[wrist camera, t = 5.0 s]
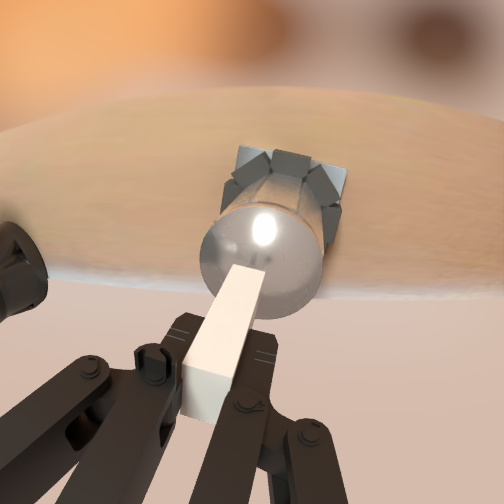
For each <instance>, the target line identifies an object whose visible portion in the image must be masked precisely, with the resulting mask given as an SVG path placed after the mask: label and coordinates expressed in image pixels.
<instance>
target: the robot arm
mask: <svg viewBox="0 0 504 504" xmlns="http://www.w3.org/2000/svg"><path fill="white" fill-rule="evenodd" d="M264 276H265V272H264V271H260V270H256V269H252V268H248V267H244V266H240V265H235V264H233V265H232V267H231V269H230V271H229V273H228V275H227V277H226V279H225V281H224V283H223V285H222V287H221V289H220V290H219V292H218V294H217V296H216V298H215V300H214V302H213V304H212V306H211V308H210V310H209V312H208V314H207V316H206V318H204V317H201V316H197V315H194V314H190V313H187V312H186V313H184V314H183V315H181V316H180V317H178V318H176V320H175V321H174V323H173V324H172V326H171V328H170V329H169V331H168V332H167V334H166V336H165V337H164V339H163V340H162V342H161V344H157V343H150V344H145V345H142V346H140V347H138V348H137V349H136V350H135V351H134V357H135V367H136V369H133V370H122V369H113V368H109V365H108V363H107V362H106V361H105V360H104V359H102V358H101V357H98V356H93V355H87V356H82V357H80V358H78V359H76V360H75V361H74V362H73V363H71V364H70V365H68V366H67V367H66V368H64V369H63V370H62V371H60V372H59V373H58V374H56V375H55V376H54V377H53V378H51V379H50V380H49V381H47V382H46V383H45V384H43V385H42V386H41V387H39V388H38V389H37V390H35V391H34V392H33V393H31V394H30V395H29V396H28V397H26V398H25V399H24V400H22V401H21V402H20V403H19V404H17V405H16V406H15V407H13V408H12V409H11V410H9V411H8V412H7V413H6V414H4V415H3V416H2V417H0V504H34V503H35V502H37V501H38V500H39V499H40V498H41V497H42V496H43V495H44V494H45V493H46V492H47V491H48V490H49V489H50V488H52V486H54V485H55V484H56V483H57V482H58V481H59V480H60V479H61V478H62V477H63V476H64V475H65V474H66V473H67V472H68V471H69V470H71V468H73V467H74V465H76V464H77V463H78V462H79V463H78V465H77V466H76V468H75V470H74V471H73V473H72V475H71V477H70V478H69V480H68V482H67V483H66V485H65V487H64V489H63V490H62V492H61V494H60V496H59V497H58V499H57V501H56V503H55V504H142V502H143V500H144V498H145V495H146V493H147V490H148V488H149V486H150V484H151V481H152V479H153V477H154V474H155V472H156V470H157V467H158V465H159V463H160V460H161V458H162V456H163V454H164V451H165V449H166V447H167V444H168V442H169V440H170V437H171V435H172V433H173V430H174V428H175V424H176V416H177V414H178V412H179V409H180V414H182V415H185V416H188V417H191V418H194V419H198V420H201V421H204V422H208V423H211V424H215V425H216V426H215V429H214V431H213V435H212V438H211V440H210V444H209V447H208V449H207V452H206V455H205V458H204V461H203V464H202V467H201V470H200V473H199V476H198V478H197V481H196V484H195V487H194V490H193V493H192V495H191V498H190V501H189V504H248V502H249V498H250V494H251V490H252V485H253V480H254V476H255V472H256V467H258V468H260V469H262V470H264V471H266V472H267V475H268V485H269V494H270V503H271V504H348V500H347V496H346V492H345V488H344V484H343V480H342V476H341V472H340V468H339V464H338V459H337V456H336V452H335V448H334V444H333V440H332V436H331V434H330V432H329V430H328V428H327V427H326V426H325V425H324V424H323V423H321V422H319V421H317V420H315V419H308V418H304V419H299V420H297V421H293V420H291V419H288V418H286V417H285V416H282V415H281V414H280V413H278V412H277V411H276V410H275V409H274V408H273V406H272V404H271V402H270V399H269V395H270V388H271V383H272V377H273V371H274V367H275V361H276V354H277V350H278V343H277V340H276V338H275V335H273V334H269V333H265V332H260V331H257V330H253V329H252V326H253V322H254V319H255V315H256V310H257V306H258V302H259V297H260V293H261V289H262V284H263V280H264ZM47 291H48V280H47V274H46V270H45V266H44V263H43V261H42V258H41V256H40V254H39V252H38V250H37V248H36V246H35V244H34V243H33V241H32V240H31V238H30V237H29V236H28V235H27V233H26V232H25V231H24V230H23V229H22V228H21V227H19V226H18V225H16V224H14V223H12V222H4V223H2V224H0V323H1V322H2V321H3V320H4V319H6V318H7V317H9V316H12V315H16V314H19V313H22V312H25V311H27V310H31V309H33V308H35V307H37V306H38V305H39V304H40V303H41V302H42V301H44V299H45V298H46V296H47Z"/></svg>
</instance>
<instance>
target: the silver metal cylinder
mask: <svg viewBox="0 0 504 504" xmlns="http://www.w3.org/2000/svg"><path fill="white" fill-rule="evenodd" d="M301 183H302V179H300V178H296V177H292V176H287V175H283V174H278V173H274V172H273V173H272V175H271V174H270V173H269V174H267V175H265V176H264V177H262V178H261V179H259V180H258V181H256V182H255V183H253V184H251V185H250V186H248V187H247V188H245V189H244V190H243V191H242V193H241V194H240V195H239V196H238V197H237V198H236V199H235V200H234V201H233V202H232V203H231V204H230V205H229V206H228V207H227V208H226V209H225V210H224V211H223V213H222V214H221V215H220V216H219V217H218V218H217V219H216V220H215V221H214V222H213V225H212V226H211V228H210V229H209V231H208V232H207V234H206V236H205V237H204V239H203V242H202V245H201V250H200V269H201V273H202V276H203V279H204V281H205V283H206V285H207V287H208V289H209V290H210V291H211V293H212V294H213V295H214V296H215V298H216V296H217V294H218V292H219V290H220V289H221V287H222V285H223V283H224V281H225V279H226V277H227V275H228V273H229V271H230V269H231V267H232V265H233V264H235V265H240V266H244V267H248V268H252V269H256V270H260V271H264V272H265V276H264V280H263V284H262V289H261V293H260V297H259V302H258V306H257V310H256V315H255V319H277V318H282V317H285V316H288V315H291V314H293V313H295V312H297V311H298V310H300V309H301V308H303V307H304V306H305V305H306V304H307V303H308V302H309V301H310V300H311V299H312V298H313V296H314V295H315V293H316V292H317V290H318V288H319V285H320V282H321V278H322V271H323V261H322V260H323V256H324V241H323V226H322V212H321V205H320V204H319V202H318V201H317V199H316V197H315V196H314V194H313V193H312V191H311V189H310V188H309V186H308V185H307V183H306V181H305V182H303V183H302V184H301Z"/></svg>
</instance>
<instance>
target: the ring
mask: <svg viewBox="0 0 504 504" xmlns="http://www.w3.org/2000/svg"><path fill="white" fill-rule="evenodd" d="M310 162H311V157H309V156H304V155H300V154H296V153H291V152H287V151H282V150H278V149H275V150H274V151H273V154H272V159H270V158H269V156H268V155H267V153H266V152H265V151H264V152H263V153H261V154H259V155H258V156H256V157H255V158H253V159H252V160H250V161H249V162H247V163H246V164H244V165H243V166H241V167H240V168H238V169H237V170H235V171H234V172H233V173H231V175H232V176H233V178H234V179H230V180H228V181H227V182H226V183H225V185H224V192H223V198H222V205H221V211H220V215H221V214H222V213H223V211H224V210H225V209H226V208H227V207H228V206H229V205H230V204H231V203H232V202H233V201H234V200H235V199H236V198H237V197H238V196H239V195H240V194H241V193H242V191H243V190H244V189H245V188H247V187H248V186H250V185H251V184H253V183H255V182H256V181H258V180H259V179H261V178H262V177H264V176H265V175H267V174H269V173H270V174H271V175H272V173H273V172H274V173H278V174H283V175H287V176H292V177H296V178H300V179H302V183H303V182H305V181H306V183H307V185H308V186H309V188H310V189H311V191H312V193H313V194H314V196H315V197H316V199H317V201H318V202H319V204H320V205H321V212H322V226H323V241H324V242H325V243H329V244H333V240H334V237H335V233H336V230H337V227H338V223H339V220H340V216H341V213H342V209H341V205H340V204H337V203H335V202H337V201H339V200H340V196H339V193H338V192H337V190H336V188H335V187H334V185H333V183H332V182H331V180H330V178H329V177H328V175H327V173H326V172H325V170H324V169H323V167H322V165H321V164H319V165H317V166H316V167H314V168H312V169H311V170H309V167H310ZM302 183H301V184H302ZM325 243H324V253H325Z"/></svg>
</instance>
